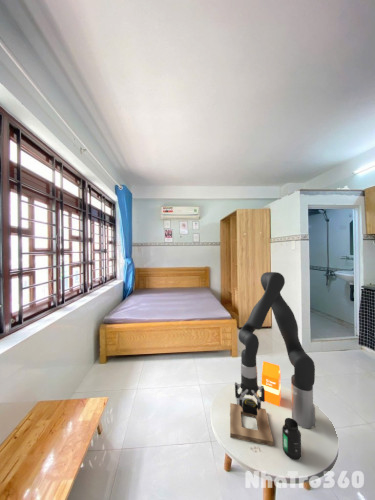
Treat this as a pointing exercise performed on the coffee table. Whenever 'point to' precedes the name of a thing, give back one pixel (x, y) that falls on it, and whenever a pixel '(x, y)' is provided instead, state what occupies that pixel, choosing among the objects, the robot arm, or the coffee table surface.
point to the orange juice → (271, 383)
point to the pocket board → (248, 434)
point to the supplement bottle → (291, 439)
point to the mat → (242, 400)
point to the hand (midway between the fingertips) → (249, 407)
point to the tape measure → (250, 406)
